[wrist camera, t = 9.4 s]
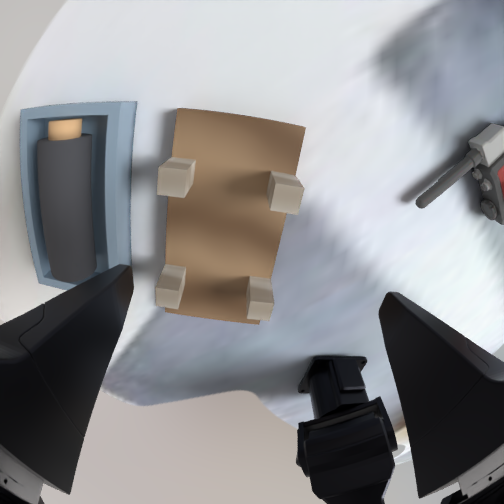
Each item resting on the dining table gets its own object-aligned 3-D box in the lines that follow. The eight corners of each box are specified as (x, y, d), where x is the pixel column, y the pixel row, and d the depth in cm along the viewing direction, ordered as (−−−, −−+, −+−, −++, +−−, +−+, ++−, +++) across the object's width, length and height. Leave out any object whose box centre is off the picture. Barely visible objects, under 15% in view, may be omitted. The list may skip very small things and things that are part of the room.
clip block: (258, 315, 25) (260, 350, 21) (168, 303, 24) (157, 337, 21) (302, 126, 17) (317, 132, 14) (181, 108, 17) (164, 109, 13)
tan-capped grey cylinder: (104, 258, 21) (83, 286, 18) (65, 251, 21) (42, 276, 17) (103, 116, 16) (73, 122, 12) (59, 118, 16) (26, 125, 12)
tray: (132, 281, 23) (122, 302, 21) (53, 266, 22) (38, 283, 20) (137, 101, 16) (121, 101, 14) (42, 106, 15) (20, 109, 13)
